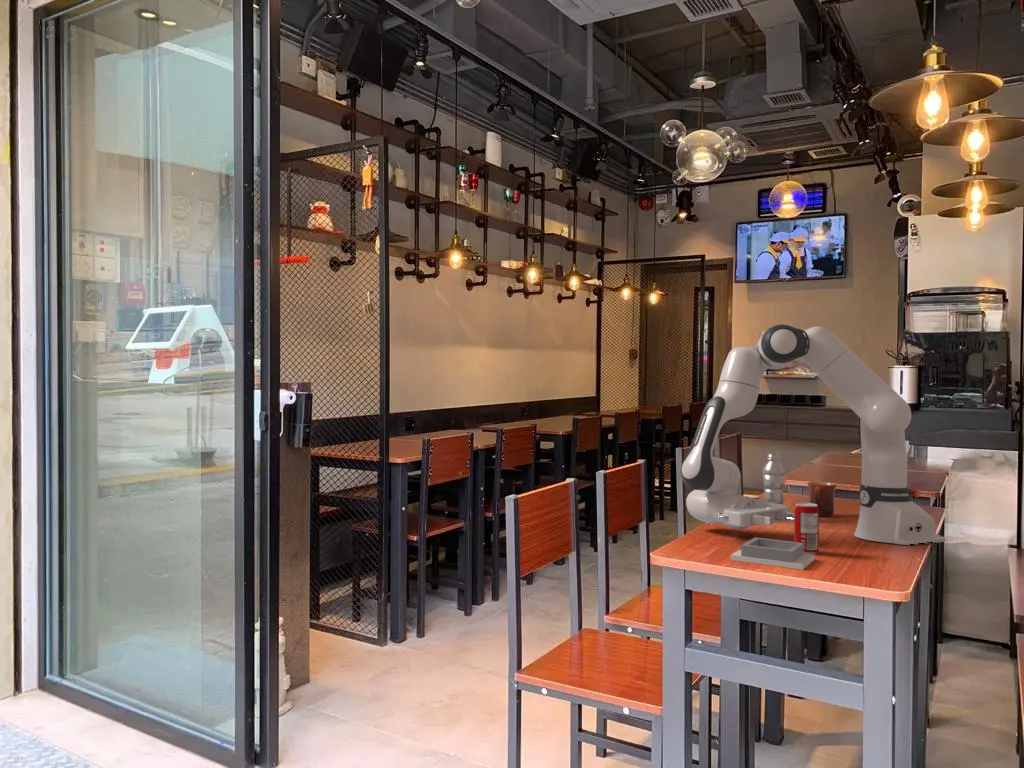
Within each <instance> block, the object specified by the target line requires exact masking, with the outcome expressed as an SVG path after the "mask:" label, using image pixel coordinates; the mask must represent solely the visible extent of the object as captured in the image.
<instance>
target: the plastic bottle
mask: <svg viewBox="0 0 1024 768" xmlns="http://www.w3.org/2000/svg"><path fill="white" fill-rule="evenodd" d="M766 460H767V462H766V463H765V465H763V468H762V479H763V488H764V489H763V491H764V492H763V493H764V494H763V500H764V501H767V502H773V503H777V504H781V505H785V504H784V493H783V492H784V490H783V489H784V480H785V473H786V471H785V468H784V466H783V465H782V463H781V462H780V461H781V453H776V452H775V453H772V452H771V453H767V458H766Z"/></svg>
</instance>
